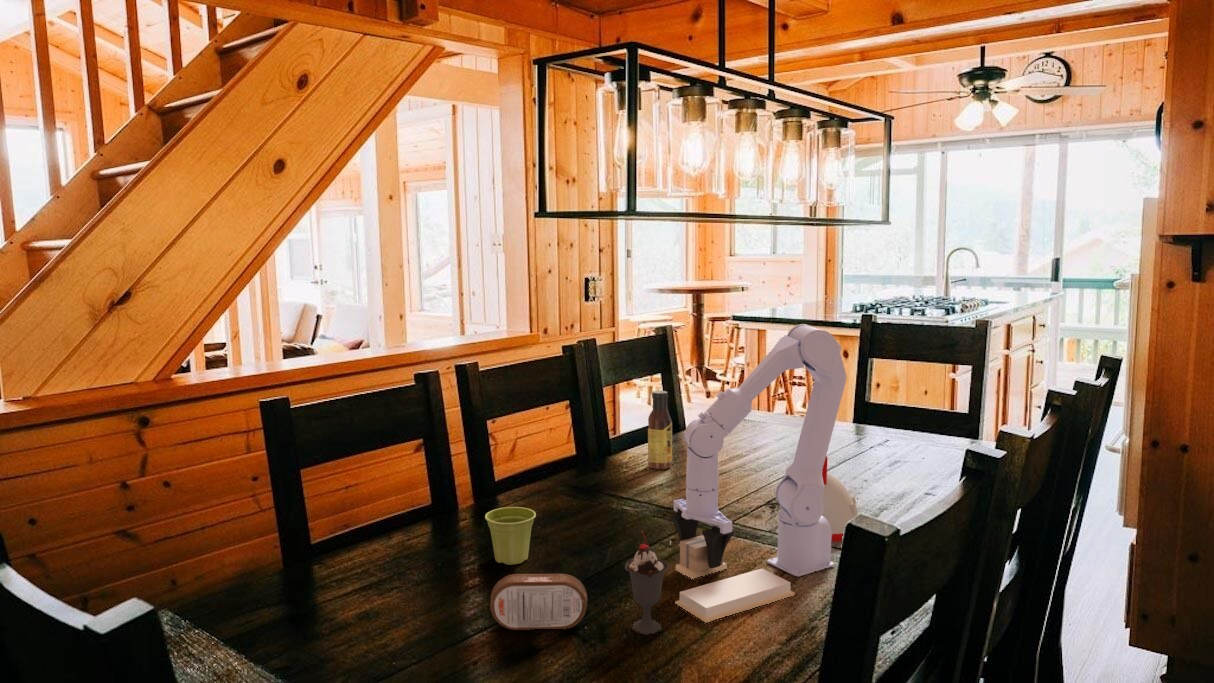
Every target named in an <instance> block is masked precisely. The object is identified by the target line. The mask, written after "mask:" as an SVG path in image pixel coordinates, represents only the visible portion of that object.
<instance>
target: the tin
mask: <svg viewBox="0 0 1214 683" xmlns="http://www.w3.org/2000/svg"><path fill="white" fill-rule="evenodd" d="M587 603H588V593H587V590H586V587H585V586H584V584H583V582H581V581H580V580H579V579H578V578H576V577H575V576H573V575H570V574H566V573H514V574H509V575H507V576H504V577H503V578H501V579H500V580H498V581H497V583H495V585H494V586H493V588H492V591H491V593H490V603H489V604H490V612H491V615H492V617H493V620H495V621H496V622H497V623H498V624H499V625H500V626H501V627H502V628H505V629H508V630H512V631H535V630H534V629H563V630H568V629H571V628H573V627H575V626H577V624H578V623H580V622H581V621H582V620H583V618H584V616H585V615H586V611H587V607H588V604H587ZM567 628H568V629H567ZM531 629H532V630H531Z"/></svg>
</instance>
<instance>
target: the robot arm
mask: <svg viewBox="0 0 1214 683" xmlns="http://www.w3.org/2000/svg"><path fill="white" fill-rule="evenodd" d="M841 351H842V346H841V344H840V343H839V342H838V341H837V339H836V338H835V337H834V335H832V334H831V332H829V331H827V330H825V329H819V328H816V327H814V326H811V325H810V324H805V323H801V324H797V325H795V326H794V327H791V329H790V330H789V331H788V333H787V335H784V336H782V337H781V338H779V340H777V342H776V344H775V345H774V347H773V348H772V349H771V350H770V351H769V352H768V354H767V355H766V356H765V357H764V358H763V359H762V360H761V361H760V363H759V364H757V366H756V367H755V368H754V369H753V370H752V372H750V373H749V375H748V376H747V377H746V378H745V379H744V381H743V382H742V383H741V384H740V385H739V386H738V387H736V388H735V387H734V388H727V389H726V390H725V391H722V390H720V391H719V392H718V393H717V394H716V397H717V399H716V400H715V401H714V402H713V403H712V404H711V405H710V406H709V407H708V408H707V409H706V410H705V411H704V412H702V411H701V412H700V413H699V414H698V415H697V416H698V419H694V420H692V421H691V422H689V424H687V426H686V427H685V431H684V432H683V435H682V436H683V439H684V443H686V445H687V447H686V448H687V452H686V453H687V454H686V459H687V460H686V464H685V465H686V467H685V468H686V474H685V477H686V478H685V480H686V481H685V482H686V483H685V484H686V485H685V490H686V491H685V498H686V499H684V498H680V499H676V500H675V499H674V500H673V511H674V512H677V513H676V514H671V517H670V520H671V522H672V523H673V525H674V527H675V530H676V532H677V534H678V539H679V542H680V541H682V540H686V539H690V538H693V537H697V530H698V526H699V522H702V523H703V524H706V525H708V526H710V527H711V528H709V529H705V530H702V532H701V533H702V534H701V535H703V536H704V538H705V542H706V546H707V555H708V565H709V567H710V568H715V567H719V566H720V564H721V561H722V557H723V558H724V554H725V550H726V548H727V545H728V543H729V542H730V540H731V538H732V537H733V536H734V532H735V530H734V529H733V521H732V520H730V519H728V517H726V515H725V514H723V513H722V512H721V511H720V510H719V471H720V469H719V466H720V465H719V452H721V450H722V449H723V447H724V439H725V438H727V437H728V435H729V434H731V432H733V430H735V429H736V428H737V426H739V424H740V423H741V422H743V420H745V418H746V417H747V416H748V415H749V414H750V413H751V412H752V404H753V403H752V402H753V401H754V399H755V398H756V397H757V396H759V395H760V394H761V393H762V392H763V391H765V389H766V388H767V387H769V385H771V384H772V383H773V382H774V381H775V380H776V379H777V378H778V377H779V376H780V375H782V374H783V373H784V372H785V371H789V370H790V371H791V370H796V369H804V368H805V369H806V370H807V372H808V373H809V374H810V376H811V377H812V379H813V384H812V389H811V391H810V392H811V393H810V397H809V400H808V404H807V409H806V411H805V416H804V420H803V423H802V427H801V432H800V435H799V438H798V443H797V446H796V451H795V454H794V457H793V461H792V463H791V464H790V465H789V466H788V467H787V468H786V469H785V473H784V476H783V478H782V479H781V480H780V481H779V482H778V484H777V486H776V487H775V491H774V493H775V499H776V501H777V503H778V505H780V511H779V513H778V522H777V524H778V526H777V528H778V530H777V556H775V557H773V558H769V559H767V561H766V562H767V564H770V565H772V566H773V567H775V568H777V569H780V570H782V571H784V572H785V573H788V574H790V575H792V576H794V577H796V576H797V577H802V576H805V575H809V574H811V573H815V571H816V572H819V571H822V570H825V568H826V569H828V568H831V567H834V566H835V563H834V562H832V561H831V559H832V557H831V556H832V542H831V536H832V533H831V527H830V524H829V522H828V521H827V519H826V518H825V517H823V516H822V514H823V512H824V502H823V492H824V482H823V477H822V469H823V465H824V462H825V458H826V456H827V454H828V450H829V447H830V446H829V445H830V443H831V440H832V436H833V433H834V432H833V431H834V427H835V424H836V420H837V417H838V416H837V415H838V413H839V409H840V404H841V401H842V398H843V394H844V390H845V386H846V382H847V373H846V369H845V365H844V361H843V357H842V354H841V353H842V352H841Z"/></svg>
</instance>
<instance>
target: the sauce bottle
mask: <svg viewBox="0 0 1214 683" xmlns="http://www.w3.org/2000/svg"><path fill="white" fill-rule="evenodd" d="M651 398H652V406H651V407H652V410H651V412H650V413H649V415H648V420H647V421H648V422H647V424H648V427H647V457H648V458H647V461H648V467H649V468H650V469H652V470H667V469H670V468H671V467H672V462H673V420H672V418H671V415H670V411H669V409H668V398H669V395H668V391H665V390H654V391H652V393H651Z"/></svg>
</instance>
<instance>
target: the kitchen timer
mask: <svg viewBox="0 0 1214 683" xmlns="http://www.w3.org/2000/svg"><path fill="white" fill-rule="evenodd" d="M822 477H823V482H824V492H823V502H824V512H823V514H822V516H823V517H825V518H826V519H827V521H828V522H829V524H830V527H831V533H832V536H831V541H834V542H833V543H835V542H836V543H837V541H839V542H843V541H842V536H843V532H844V528H845V525H846V523H847V522H848V521H849V520H851V519H852V518H854V517H855V516H857V517H858V516H859V514H858V507H857V503H856V502H857V501H856V497H855V495H851V494H850V492H849V491H848V489H847V487H846V486H845V484H843V482H842V481H841V480H840V479H838V478H837V477H835V476H834V475H833V474H830V473H828V456H827V455H826V458H825V462H824V465H823V469H822Z"/></svg>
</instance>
